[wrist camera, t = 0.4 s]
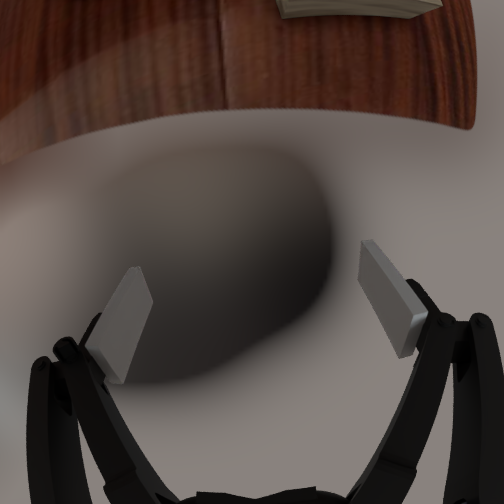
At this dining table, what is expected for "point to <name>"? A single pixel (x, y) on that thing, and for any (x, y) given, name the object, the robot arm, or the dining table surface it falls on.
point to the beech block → (356, 7)
